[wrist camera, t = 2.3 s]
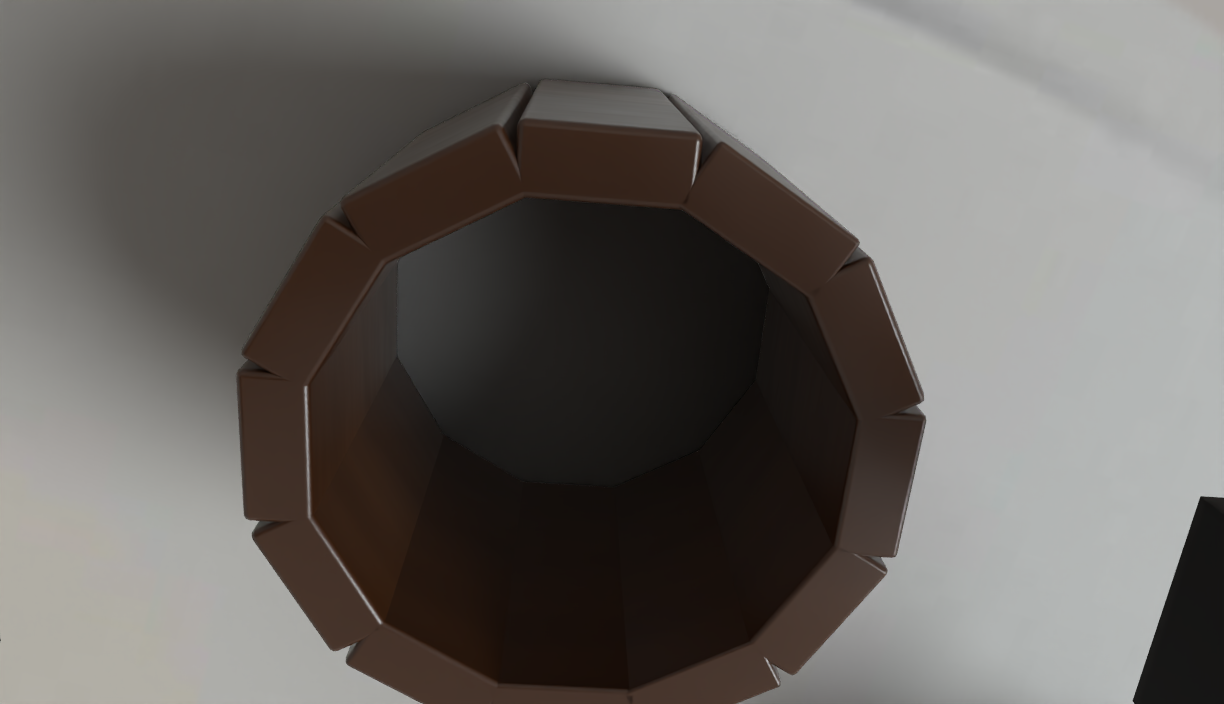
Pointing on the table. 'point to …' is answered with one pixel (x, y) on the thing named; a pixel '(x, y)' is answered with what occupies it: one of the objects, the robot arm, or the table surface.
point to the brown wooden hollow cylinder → (564, 513)
